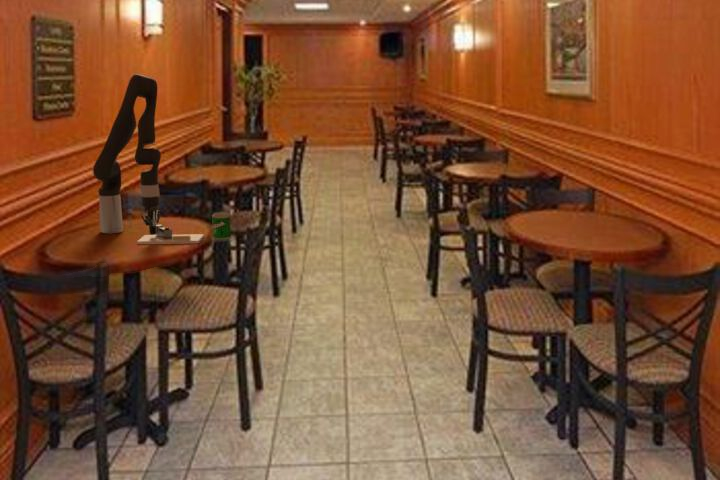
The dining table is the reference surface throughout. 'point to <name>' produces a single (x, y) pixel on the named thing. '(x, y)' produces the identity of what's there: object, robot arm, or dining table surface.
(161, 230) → the latch bar
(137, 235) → the dining table surface
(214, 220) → the soda can
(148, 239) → the lock board
